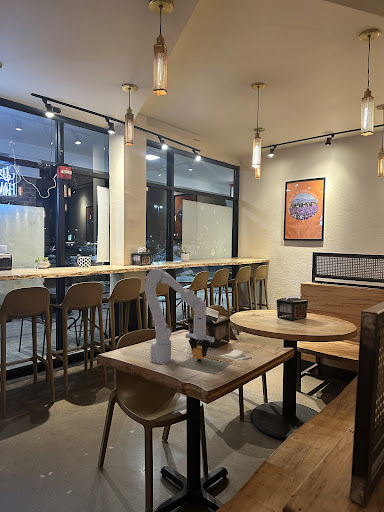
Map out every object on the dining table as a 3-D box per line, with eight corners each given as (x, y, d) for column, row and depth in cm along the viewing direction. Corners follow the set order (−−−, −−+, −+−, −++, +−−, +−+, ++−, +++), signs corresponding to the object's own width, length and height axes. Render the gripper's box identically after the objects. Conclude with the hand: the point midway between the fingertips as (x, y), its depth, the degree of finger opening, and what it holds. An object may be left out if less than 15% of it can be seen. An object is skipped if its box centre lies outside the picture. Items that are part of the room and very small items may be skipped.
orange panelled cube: (192, 357, 161) (192, 348, 161) (197, 355, 165) (197, 345, 165) (201, 359, 159) (201, 349, 159) (206, 356, 163) (206, 347, 162)
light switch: (252, 351, 170) (236, 355, 161) (252, 360, 170) (236, 364, 161) (234, 347, 178) (218, 350, 169) (234, 355, 178) (218, 359, 169)
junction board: (175, 367, 155) (175, 365, 154) (193, 358, 168) (193, 356, 168) (214, 376, 144) (214, 374, 144) (231, 365, 158) (231, 363, 158)
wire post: (196, 360, 161) (196, 353, 161) (198, 359, 163) (198, 352, 163) (200, 361, 160) (200, 353, 160) (202, 360, 162) (202, 352, 162)
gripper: (182, 326, 162) (181, 354, 162) (209, 330, 154) (208, 360, 155) (190, 323, 168) (189, 351, 168) (216, 327, 160) (216, 356, 161)
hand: (199, 355), depth 162 cm, fingers closed on orange panelled cube, 5 cm apart
